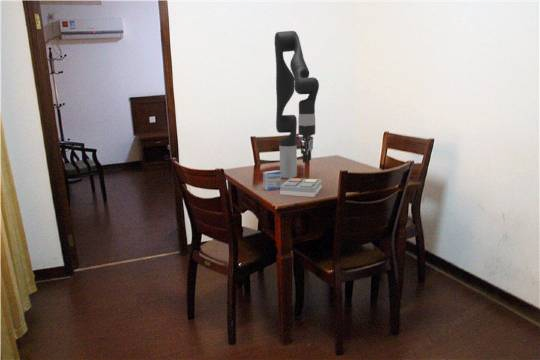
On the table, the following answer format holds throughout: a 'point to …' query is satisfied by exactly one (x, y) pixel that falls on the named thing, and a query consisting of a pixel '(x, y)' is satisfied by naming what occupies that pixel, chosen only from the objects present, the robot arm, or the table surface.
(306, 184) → the sage key
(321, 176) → the table surface
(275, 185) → the medicine box
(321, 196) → the table surface
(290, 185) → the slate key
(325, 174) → the table surface
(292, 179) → the terracotta key
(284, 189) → the keypad
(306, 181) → the cream key
